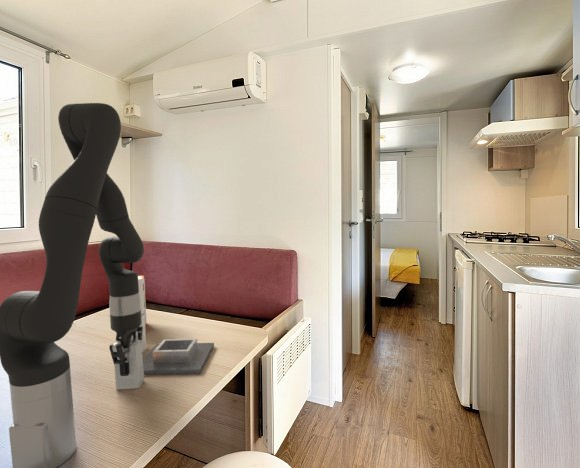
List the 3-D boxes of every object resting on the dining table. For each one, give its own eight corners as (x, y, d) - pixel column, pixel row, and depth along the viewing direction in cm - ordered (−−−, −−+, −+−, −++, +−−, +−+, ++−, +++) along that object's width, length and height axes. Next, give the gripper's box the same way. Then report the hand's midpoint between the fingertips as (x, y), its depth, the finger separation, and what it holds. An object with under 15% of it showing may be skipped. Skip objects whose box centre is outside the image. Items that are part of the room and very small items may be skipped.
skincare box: (144, 380, 90) (142, 339, 89) (138, 389, 86) (135, 346, 85) (122, 381, 90) (119, 340, 89) (115, 390, 85) (112, 347, 84)
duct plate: (200, 374, 93) (199, 357, 92) (131, 375, 93) (130, 359, 92) (214, 346, 111) (213, 333, 110) (156, 348, 111) (155, 334, 110)
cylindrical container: (137, 355, 105) (132, 281, 103) (118, 353, 107) (113, 280, 104) (150, 346, 112) (146, 276, 110) (132, 344, 114) (128, 276, 111)
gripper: (126, 319, 79) (130, 384, 80) (150, 301, 93) (153, 357, 94) (95, 319, 79) (100, 385, 80) (124, 302, 93) (128, 358, 94)
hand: (129, 370), depth 87 cm, fingers closed on skincare box, 4 cm apart
